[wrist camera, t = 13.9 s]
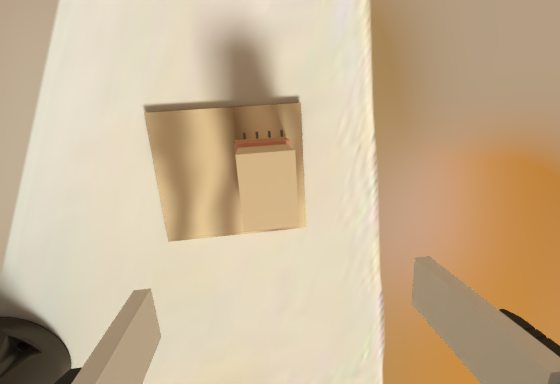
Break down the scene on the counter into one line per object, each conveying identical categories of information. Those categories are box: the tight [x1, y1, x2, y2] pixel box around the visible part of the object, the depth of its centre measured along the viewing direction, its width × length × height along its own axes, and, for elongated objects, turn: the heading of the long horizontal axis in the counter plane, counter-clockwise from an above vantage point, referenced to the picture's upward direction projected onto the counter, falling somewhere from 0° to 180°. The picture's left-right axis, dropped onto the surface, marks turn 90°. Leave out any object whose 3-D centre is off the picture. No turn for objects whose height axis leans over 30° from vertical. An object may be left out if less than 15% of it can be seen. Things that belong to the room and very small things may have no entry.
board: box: [144, 103, 306, 241], centre depth 34 cm, size 18×16×1 cm
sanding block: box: [234, 137, 299, 232], centre depth 30 cm, size 6×8×10 cm
